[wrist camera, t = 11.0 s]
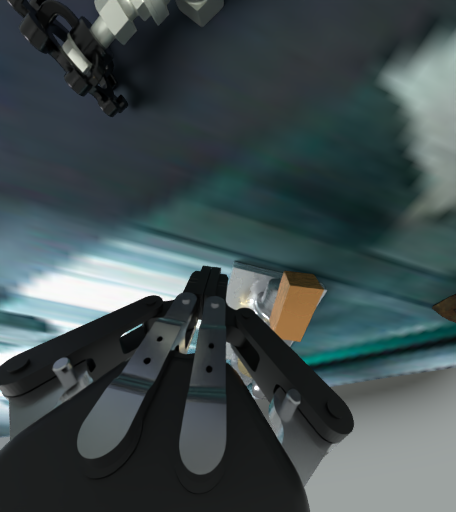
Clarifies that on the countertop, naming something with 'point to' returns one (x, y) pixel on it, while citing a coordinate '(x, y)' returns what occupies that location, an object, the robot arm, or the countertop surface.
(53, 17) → the valve
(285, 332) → the valve lever
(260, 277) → the valve manifold
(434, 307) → the hand tool
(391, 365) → the countertop surface
